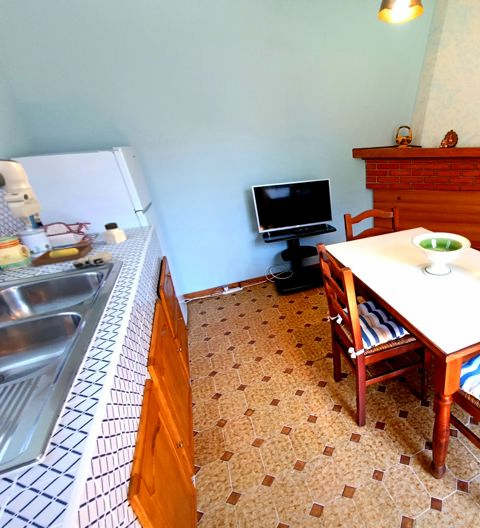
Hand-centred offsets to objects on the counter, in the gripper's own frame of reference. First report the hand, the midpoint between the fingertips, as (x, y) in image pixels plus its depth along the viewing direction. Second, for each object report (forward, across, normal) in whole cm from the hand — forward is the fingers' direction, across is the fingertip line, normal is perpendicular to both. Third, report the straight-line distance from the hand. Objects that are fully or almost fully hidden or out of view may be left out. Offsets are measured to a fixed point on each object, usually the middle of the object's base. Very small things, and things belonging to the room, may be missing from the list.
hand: (34, 224), depth 146 cm
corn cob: (+20, -6, +4) cm, 21 cm away
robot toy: (+20, +19, +22) cm, 35 cm away
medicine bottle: (+20, -23, +24) cm, 39 cm away
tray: (+20, -6, +4) cm, 22 cm away
